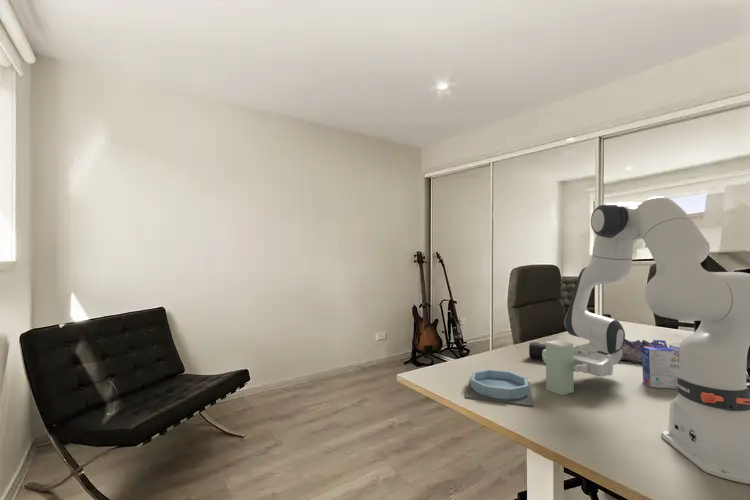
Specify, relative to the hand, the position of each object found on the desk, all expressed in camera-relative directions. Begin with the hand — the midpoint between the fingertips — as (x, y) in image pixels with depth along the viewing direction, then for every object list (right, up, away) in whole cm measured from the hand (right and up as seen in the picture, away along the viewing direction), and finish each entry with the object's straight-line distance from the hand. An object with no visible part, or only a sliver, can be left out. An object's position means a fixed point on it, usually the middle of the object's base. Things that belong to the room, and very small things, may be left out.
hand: (559, 364), depth 113 cm
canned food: (+49, -8, +11) cm, 51 cm away
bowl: (-19, -8, +1) cm, 21 cm away
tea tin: (0, -8, 0) cm, 8 cm away
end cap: (+10, -9, +33) cm, 35 cm away
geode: (+47, -9, +31) cm, 57 cm away
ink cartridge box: (+36, -8, +4) cm, 37 cm away
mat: (-19, -8, +1) cm, 21 cm away
